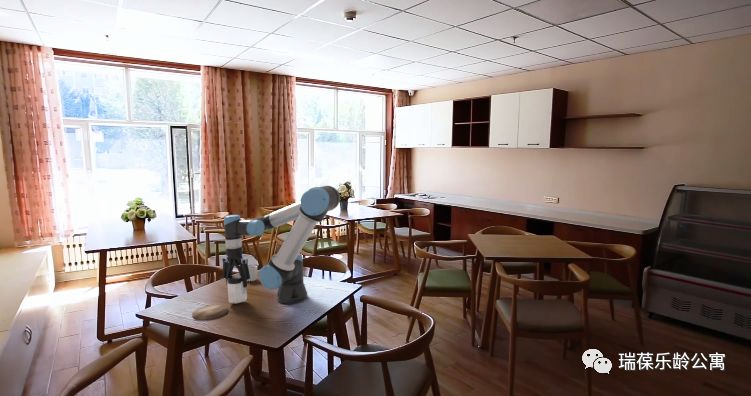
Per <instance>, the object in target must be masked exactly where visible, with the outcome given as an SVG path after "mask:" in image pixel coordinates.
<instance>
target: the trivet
mask: <svg viewBox="0 0 751 396" xmlns="http://www.w3.org/2000/svg"><path fill="white" fill-rule="evenodd" d="M228 312H229V308H228V306H226V305H222V304H211V305H206V306H201V307H199V308H197V309H195V310H194V311H192V318H193V319H195V320H198V321H209V320H214V319H218V318H221V317H223V316H225V315H226V314H228Z"/></svg>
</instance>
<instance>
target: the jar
mask: <svg viewBox="0 0 751 396" xmlns="http://www.w3.org/2000/svg"><path fill="white" fill-rule="evenodd" d="M241 281H242V279H241V276H240V274H238V273H237V274H232V275H231V276H229V277H228V284H226V286H227V285H228V286H227V295H228V296H227V297H228V303H231V304H239V303H243V302H246V301H247V298H248V293H245V294H243V295H242V292H241Z"/></svg>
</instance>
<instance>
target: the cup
mask: <svg viewBox="0 0 751 396" xmlns="http://www.w3.org/2000/svg"><path fill="white" fill-rule="evenodd" d="M248 268H249V274H250V279H248V280H247V282H248V281H249V282H250V281H251V282H255V281H256V280H257V279H258V266H257V265H252V264H251V265H248Z"/></svg>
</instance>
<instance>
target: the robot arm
mask: <svg viewBox="0 0 751 396" xmlns="http://www.w3.org/2000/svg"><path fill="white" fill-rule="evenodd" d="M340 201H341V196H340V193H339V191H338V189H336V187H334V186H331V185H323V186H322V185H321V186H313V187H311V188H309V189H307V190H305V191H304V192H303V194H302V195H301V197H300V201H297V202H295V203H292V204H291V205H288V206H285V207H283V208H280V209H278V210H275V211H273V212H271V213H269V214H266V215H263V216H261V217H255V218H252V219H251V218H250V219H241V216H240V214H230V215H226V216H224V218H223V227H224V237H225V239H224V241H225V255H226V256H227V257H224V258H222V273H221V274H222V278H223V279H225V282H226V286H227V287H228V285H227V284H228V277H229V276H231V275H233V271H234V267H235V268H236V269H237V271H238V273H239V274H240V276H241V279H242V281H241V292H242V295H243V294H245V293H247V291H248V290H247V287H248V281H247V280H248V279H250V274H249V268H248V266H249V265H248V264H249V263H248V262H249V260H248V258H245V259H244V257H243V253H244V250H243V247H242V246H243V238H242V236H251V237H256V236H257V237H259V236H261V235H262V234H263V233H265V232H267V231H271V230H274V229H275V228H278V227H281V226H283V225H286V224H288V223H290V222H291V223H292V222H294V221H295V222H294V223H293V224H292V227H291V229H290V231H289V233H288V234H287V236H286V238H285V239H284V241H283V243H282V245H281V246H280V248H279V249H278V252H277V253H274V254H273V255H272V256H271V257H270V259H269V261H267V264H266V265H263V266H262V267H261V268H260V269H259V271H258V272H259V273H258V277H259V281H260V283H261V285H262V286H263V287H264V288H265V289H267V290H271V291H272V290H276V289H278V290H277V294H276V301H277V302H278V303H280V304H285V305H286V304H288V305H289V304H292V305H293V304H298V303H302V302H304V301H306V300H307V299H308V291H307V289H306V288H307V287H306V286H305V284H304V283H305V282H304V263H303V262H304V261H303V255H302V254H300V253H301V251H302V249H303V247H304V246H305V244H306V243H307V241H308V239H309V238H310V236H311V234H312V232H313V230H314V229H315V227H316V226H317V224H318V223H321V222H323V220H324V218H325V217H326V215H327V214H328V212H330V211H333V210H334V209H336V208H337V207H338V206H339V204H340ZM247 294H248V293H247Z"/></svg>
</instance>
